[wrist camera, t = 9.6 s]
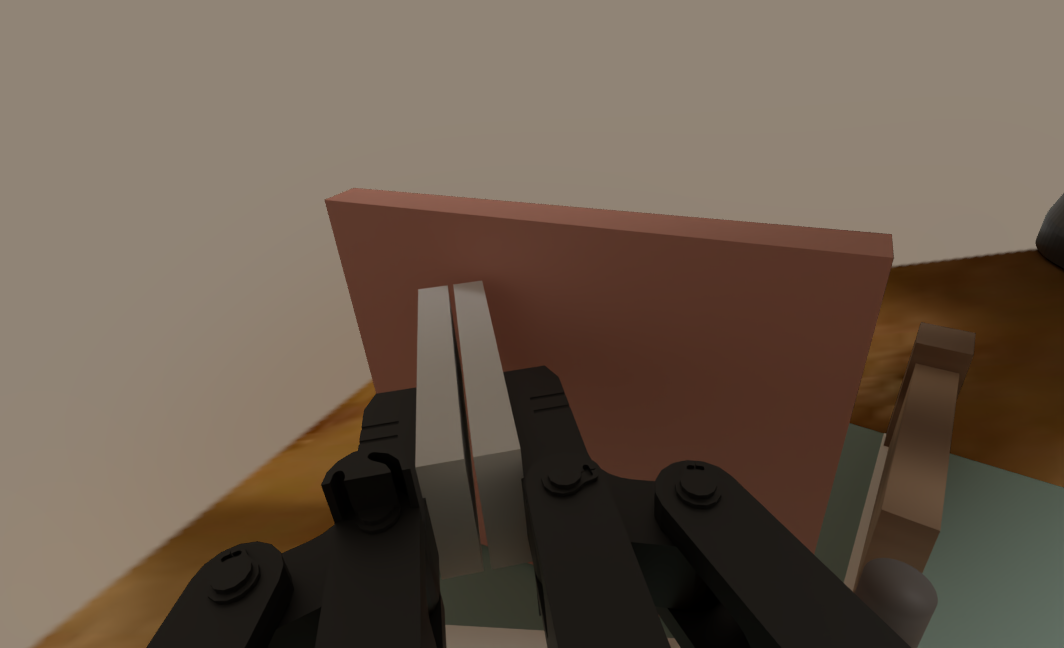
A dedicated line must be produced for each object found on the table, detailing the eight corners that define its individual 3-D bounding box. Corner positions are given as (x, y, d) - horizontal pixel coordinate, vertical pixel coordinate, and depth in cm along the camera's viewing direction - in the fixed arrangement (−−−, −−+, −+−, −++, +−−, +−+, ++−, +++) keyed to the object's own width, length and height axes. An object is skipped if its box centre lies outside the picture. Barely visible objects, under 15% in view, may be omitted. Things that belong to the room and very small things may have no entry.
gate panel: (788, 630, 17) (892, 234, 11) (783, 667, 16) (894, 258, 10) (426, 493, 23) (353, 187, 17) (408, 514, 22) (324, 199, 16)
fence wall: (887, 427, 25) (921, 322, 23) (934, 442, 24) (975, 332, 22) (817, 695, 16) (859, 571, 13) (888, 735, 15) (950, 610, 12)
